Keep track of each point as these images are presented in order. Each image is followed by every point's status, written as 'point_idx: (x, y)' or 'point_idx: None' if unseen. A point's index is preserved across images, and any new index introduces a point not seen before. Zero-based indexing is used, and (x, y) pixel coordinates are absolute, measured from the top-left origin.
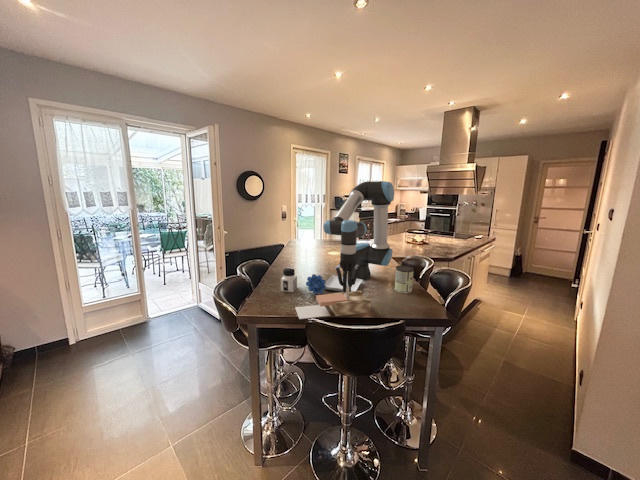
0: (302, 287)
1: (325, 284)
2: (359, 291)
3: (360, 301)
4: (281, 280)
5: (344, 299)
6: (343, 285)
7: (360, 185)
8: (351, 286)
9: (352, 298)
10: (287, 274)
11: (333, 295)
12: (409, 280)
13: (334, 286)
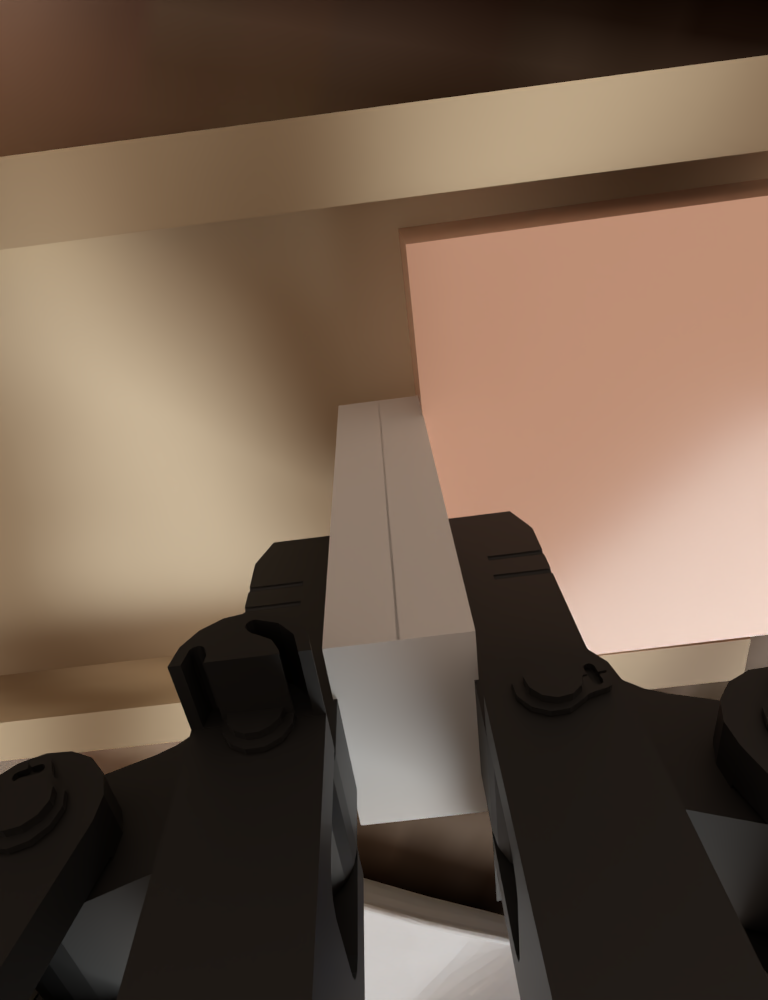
0: None
1: (503, 997)
2: (11, 728)
3: (6, 159)
4: None
5: (520, 276)
6: (646, 714)
7: None
8: (212, 632)
9: (223, 507)
10: None
11: (718, 558)
12: None
13: (384, 964)
